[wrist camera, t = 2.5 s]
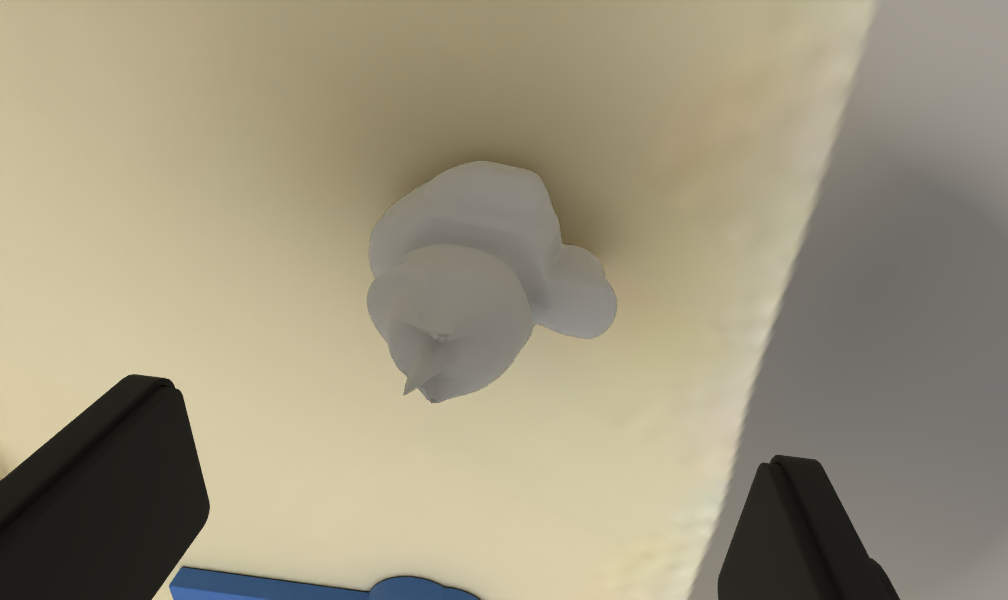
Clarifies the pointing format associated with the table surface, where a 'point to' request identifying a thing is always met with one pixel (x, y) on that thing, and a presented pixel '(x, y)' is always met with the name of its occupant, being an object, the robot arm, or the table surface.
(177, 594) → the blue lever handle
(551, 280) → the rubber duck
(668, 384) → the table surface
